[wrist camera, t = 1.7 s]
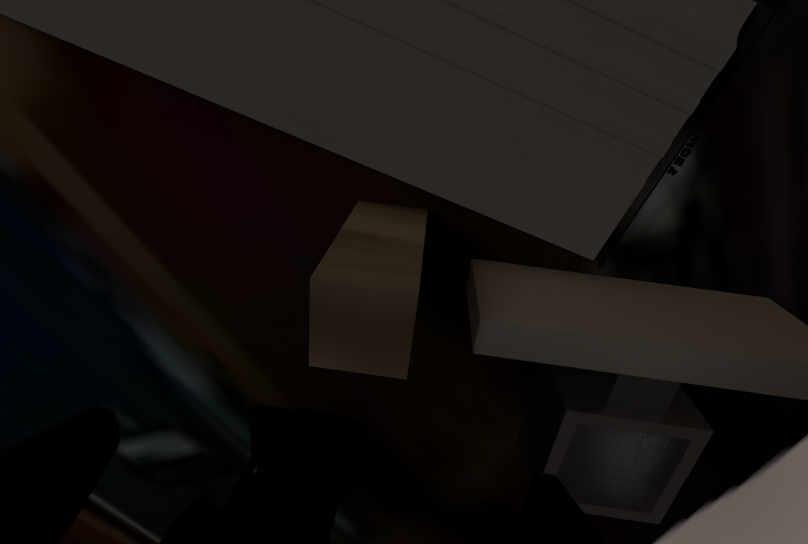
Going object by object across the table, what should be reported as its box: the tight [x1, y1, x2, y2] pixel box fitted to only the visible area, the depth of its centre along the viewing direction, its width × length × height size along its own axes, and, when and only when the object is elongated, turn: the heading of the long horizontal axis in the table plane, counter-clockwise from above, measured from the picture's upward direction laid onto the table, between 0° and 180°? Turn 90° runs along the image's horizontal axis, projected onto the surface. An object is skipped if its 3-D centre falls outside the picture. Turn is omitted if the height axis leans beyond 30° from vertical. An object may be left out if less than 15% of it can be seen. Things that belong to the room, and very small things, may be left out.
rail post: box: [309, 201, 428, 379], centre depth 17 cm, size 3×3×8 cm
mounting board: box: [466, 259, 808, 400], centre depth 18 cm, size 2×14×6 cm, turn 83°
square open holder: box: [518, 363, 714, 524], centre depth 19 cm, size 8×6×4 cm
